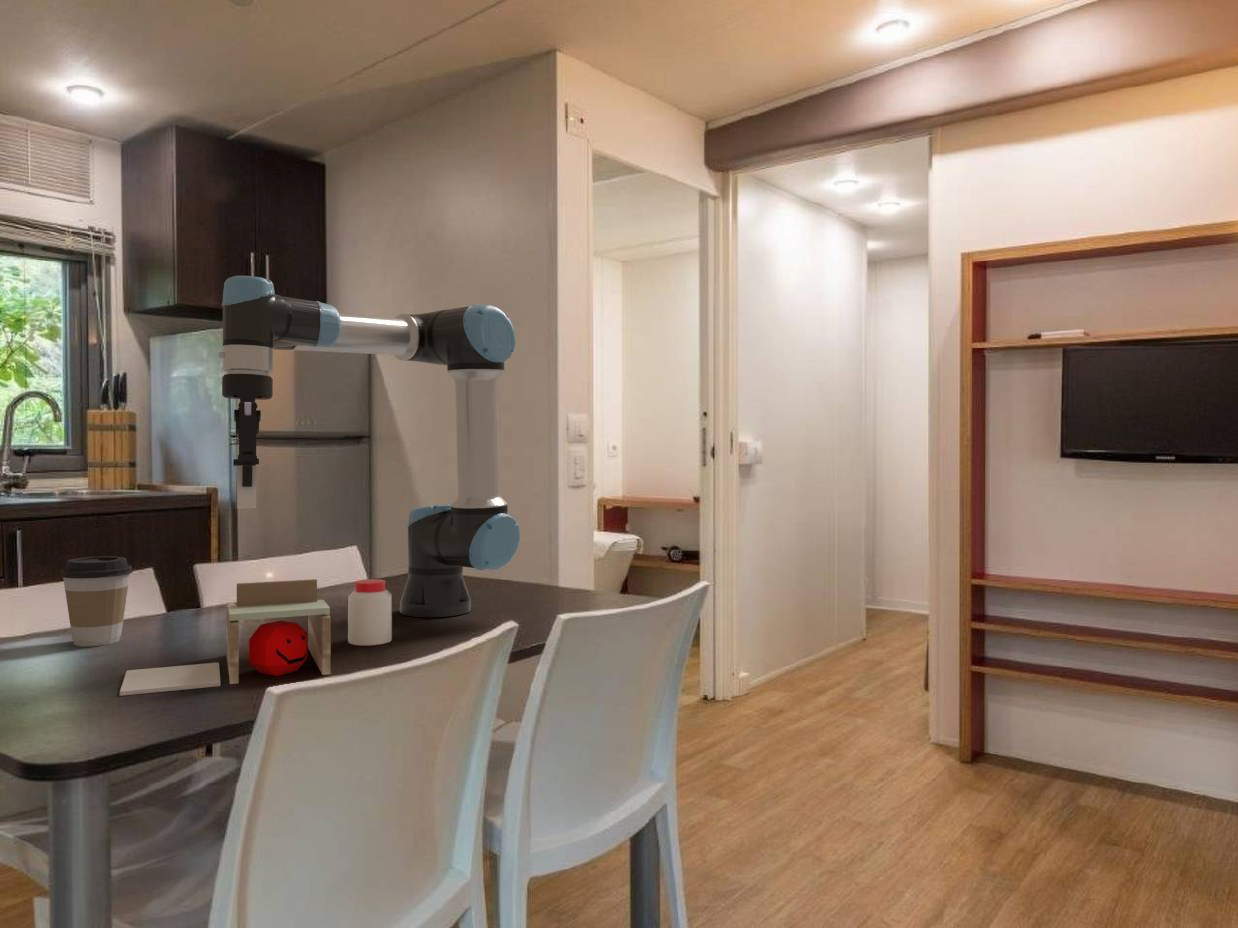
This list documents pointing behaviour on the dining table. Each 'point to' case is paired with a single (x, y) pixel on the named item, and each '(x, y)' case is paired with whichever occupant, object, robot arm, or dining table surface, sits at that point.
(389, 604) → the pill bottle
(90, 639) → the coffee cup
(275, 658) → the ball
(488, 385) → the robot arm
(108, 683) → the dining table surface
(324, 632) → the wooden goalpost gate
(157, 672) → the mat
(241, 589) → the cover
